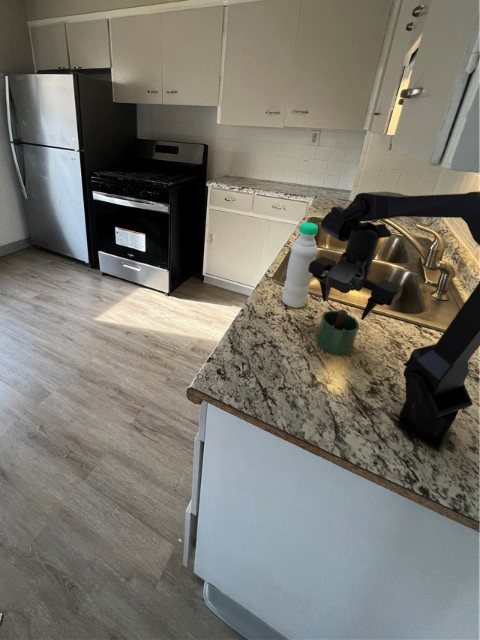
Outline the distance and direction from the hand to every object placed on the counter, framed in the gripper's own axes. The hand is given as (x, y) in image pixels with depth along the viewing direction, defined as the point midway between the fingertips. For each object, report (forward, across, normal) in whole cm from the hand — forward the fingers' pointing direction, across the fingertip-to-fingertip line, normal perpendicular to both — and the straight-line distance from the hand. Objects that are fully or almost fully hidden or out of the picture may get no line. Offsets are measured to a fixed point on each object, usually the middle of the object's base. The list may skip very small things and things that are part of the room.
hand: (342, 309), depth 74 cm
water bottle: (+10, -17, +8) cm, 21 cm away
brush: (+10, 0, 0) cm, 10 cm away
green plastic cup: (+10, 0, 0) cm, 10 cm away
